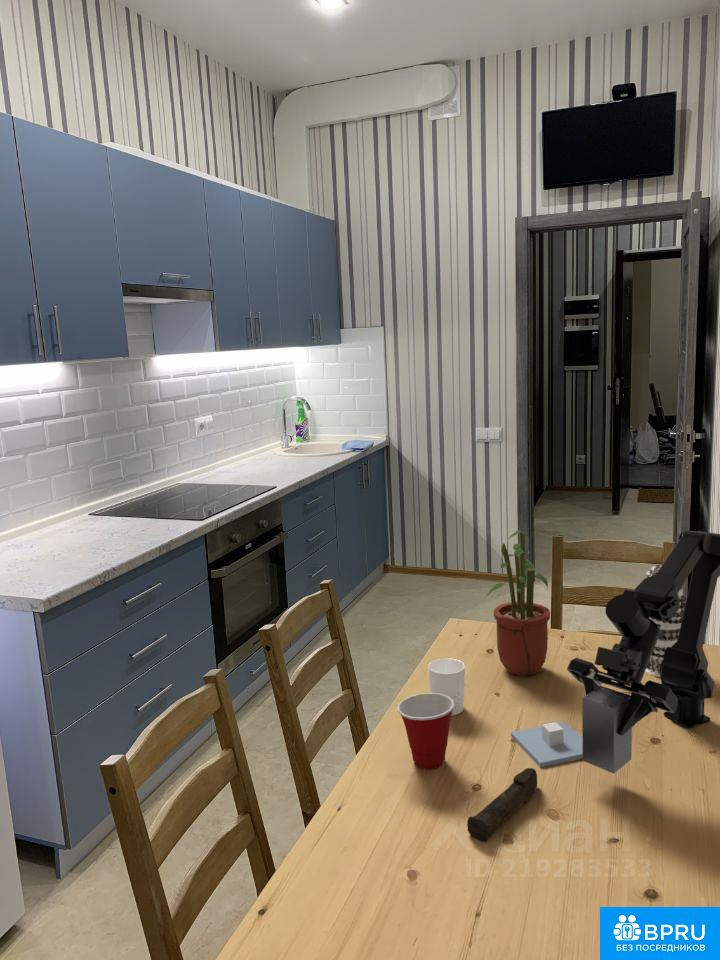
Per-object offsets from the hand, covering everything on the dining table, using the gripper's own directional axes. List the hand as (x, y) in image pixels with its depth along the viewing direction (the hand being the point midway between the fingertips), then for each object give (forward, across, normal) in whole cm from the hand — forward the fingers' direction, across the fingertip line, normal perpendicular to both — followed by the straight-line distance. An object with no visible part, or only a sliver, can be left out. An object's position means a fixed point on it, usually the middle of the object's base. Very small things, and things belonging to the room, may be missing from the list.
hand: (602, 728), depth 131 cm
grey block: (+4, 0, +6) cm, 7 cm away
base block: (+4, -14, +13) cm, 20 cm away
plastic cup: (+18, -28, -2) cm, 34 cm away
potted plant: (-13, -41, +30) cm, 52 cm away
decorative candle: (-28, -14, +44) cm, 54 cm away
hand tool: (+20, -8, -4) cm, 22 cm away
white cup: (+6, -39, +11) cm, 41 cm away
